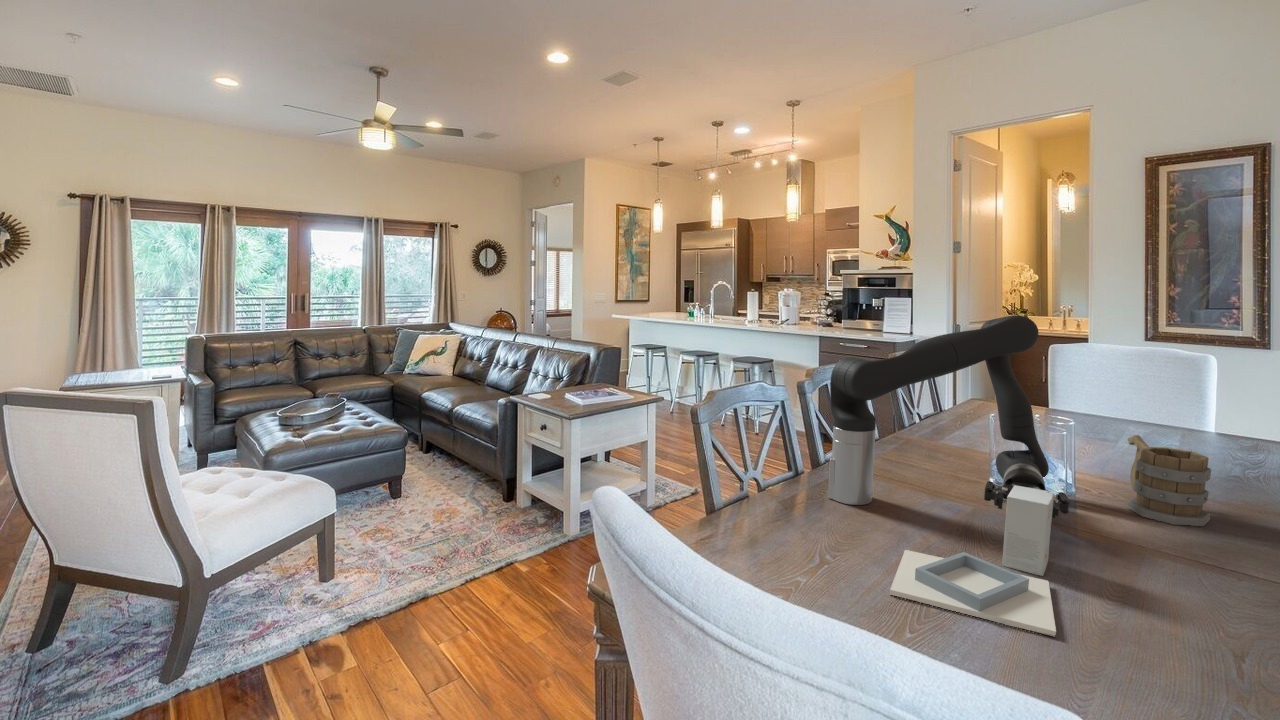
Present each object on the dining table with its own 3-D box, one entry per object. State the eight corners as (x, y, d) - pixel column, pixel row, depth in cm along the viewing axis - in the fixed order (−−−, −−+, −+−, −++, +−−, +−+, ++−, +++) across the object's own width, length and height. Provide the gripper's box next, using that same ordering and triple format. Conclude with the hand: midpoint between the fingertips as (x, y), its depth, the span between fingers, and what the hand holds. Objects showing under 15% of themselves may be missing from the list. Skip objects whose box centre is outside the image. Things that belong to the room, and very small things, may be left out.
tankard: (1223, 528, 121) (1232, 458, 119) (1154, 524, 123) (1162, 455, 122) (1156, 494, 141) (1163, 434, 139) (1098, 491, 143) (1104, 431, 141)
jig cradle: (889, 595, 95) (890, 577, 94) (904, 554, 109) (905, 539, 109) (1055, 638, 83) (1057, 618, 83) (1047, 586, 98) (1049, 569, 97)
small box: (1008, 550, 111) (1013, 484, 109) (1048, 560, 107) (1055, 491, 105) (1000, 565, 105) (1006, 496, 103) (1043, 577, 101) (1050, 504, 99)
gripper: (987, 462, 130) (985, 483, 117) (1065, 473, 123) (1073, 496, 109) (984, 495, 131) (982, 519, 118) (1062, 507, 124) (1069, 534, 110)
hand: (1026, 508), depth 113 cm, fingers open, 8 cm apart
